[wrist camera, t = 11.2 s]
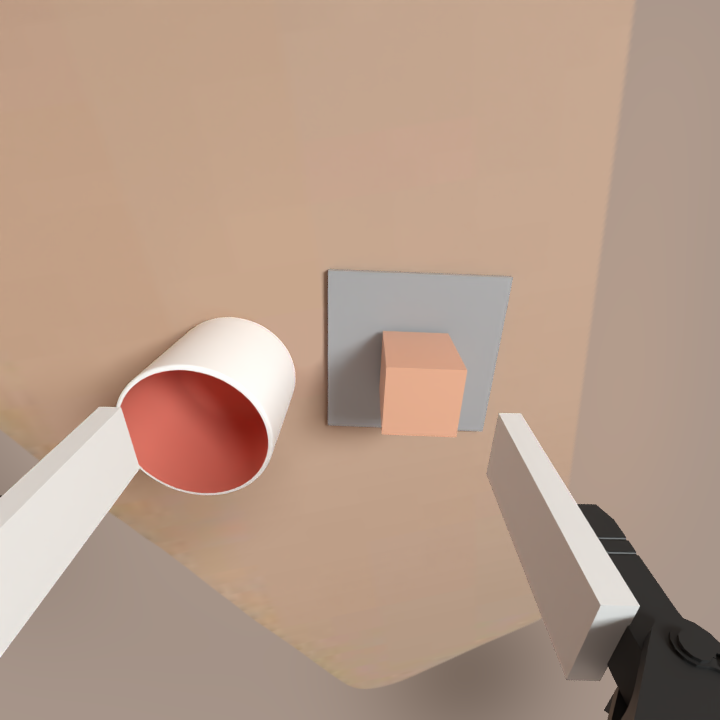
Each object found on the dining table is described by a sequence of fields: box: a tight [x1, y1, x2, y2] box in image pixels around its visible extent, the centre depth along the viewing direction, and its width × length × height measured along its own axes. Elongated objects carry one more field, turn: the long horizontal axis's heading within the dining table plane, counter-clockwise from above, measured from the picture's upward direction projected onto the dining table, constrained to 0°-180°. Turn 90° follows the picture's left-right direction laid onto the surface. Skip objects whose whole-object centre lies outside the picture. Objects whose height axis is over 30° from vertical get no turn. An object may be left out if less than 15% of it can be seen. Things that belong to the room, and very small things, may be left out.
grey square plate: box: [328, 269, 513, 431], centre depth 30 cm, size 14×14×7 cm
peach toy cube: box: [379, 331, 467, 437], centre depth 29 cm, size 5×5×7 cm
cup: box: [116, 317, 295, 495], centre depth 30 cm, size 10×10×10 cm
